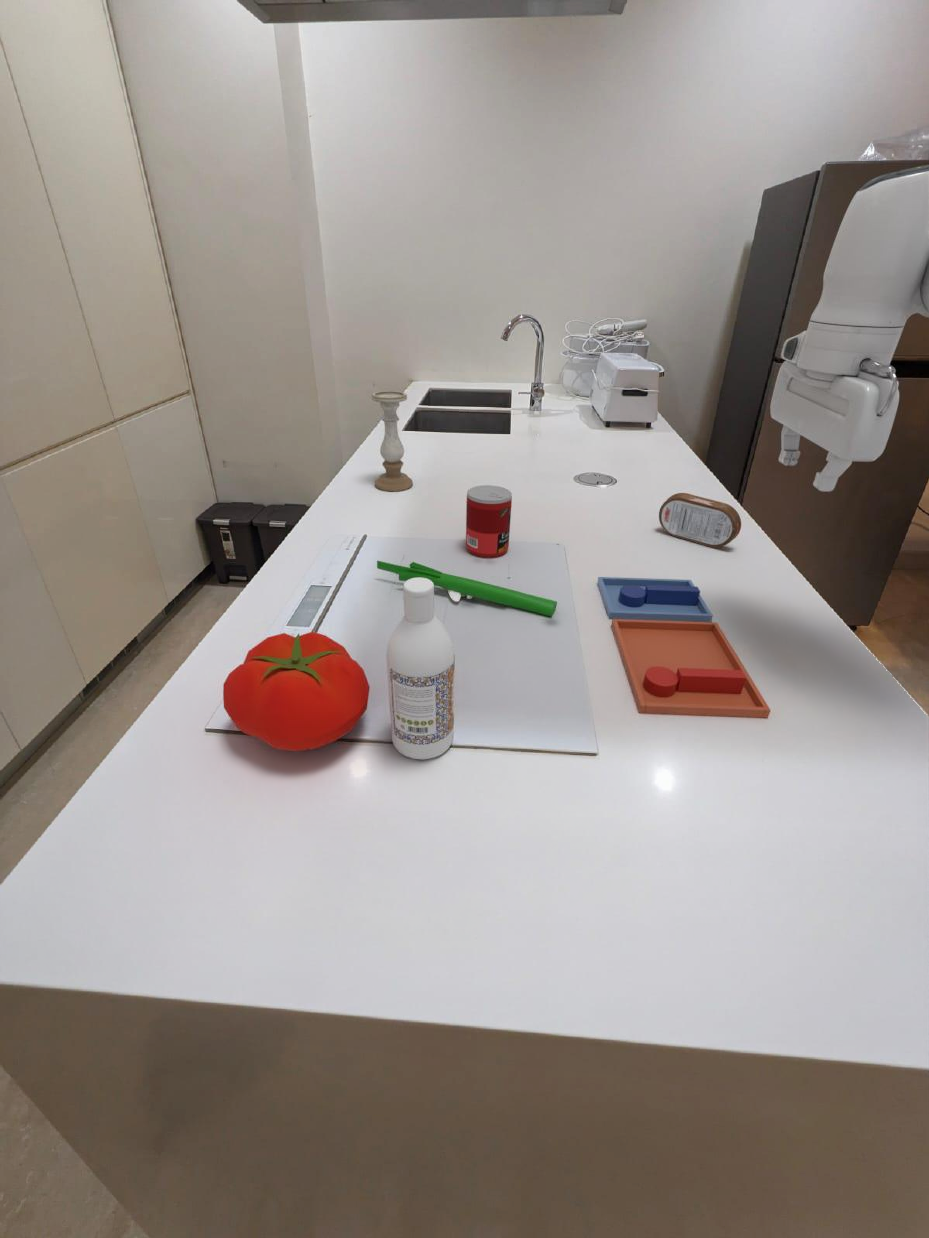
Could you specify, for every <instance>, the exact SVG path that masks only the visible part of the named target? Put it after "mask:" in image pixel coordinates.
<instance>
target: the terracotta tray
mask: <svg viewBox="0 0 929 1238" xmlns="http://www.w3.org/2000/svg"><path fill="white" fill-rule="evenodd" d="M718 623H719V622H716V621H715V622H712V621H711V622H688V621H659V620H630V619H611V625H610V627H611V630H612V633H613V636H614V641H615V642H616V646H617V649H618V653H619V655H620V659H621V661H622V664H623V667H624V669H625V670H624V671H625V674H626V677H627V680H628V683H629V687H630V689H631V692H632V695H633V699H634V702H635V705H636V708H637V711H638V713H639V714H644V715H671V716H672V715H673V716H696V717H718V718H719V717H722V718H747V719H750V718H751V719H768V718H769V716H770V714H771V709H770V707H769V705H768V704H767V702H766V700H765V698H764V697H763V696H762V693H761V692H760V690H759V689H758V686H757V685H756V684H755V682H754V681H753V679H752V677H751V676H750V674H749V672H748V671H747V669H746V667H745V665H743V663H742V661H741V660H740V658H739V656H738V655H737V652H735V650H734V648H733V646H732V644H731V643H730V641H729V639H728V638H727V636H726V635H725V633H724V632H723V630H722V628H721V627H720V625H719V624H718ZM656 666H658V667H665V668H668V669H670V670H672V671H673V672H675V673H677V669H678V668H697V669H724V670H742V671H743V673H744V674H745V676H746V681H745V684H744V686H743V689H742V692H741V694H730V693H703V692H677V691H675V693H674V694H673V695H672V696H669V697H658V696H655V695H652V694H650V693H649V692H647V691H646V690H645V688H644V687H643V681H644V677H645V673H646V670H647V669H649V668H651V667H656Z"/></svg>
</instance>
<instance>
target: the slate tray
mask: <svg viewBox="0 0 929 1238" xmlns="http://www.w3.org/2000/svg"><path fill="white" fill-rule="evenodd" d="M597 577H598V578H597V582H596V583H597V588H598V590H599V593H600V596H601V599H602V602H603V603H602V604H603V607H604V608H605V612H606V615H607V618H608V620H612V619H630V620H659V621H688V622H712V619H713V614H712V612H711V610H710V609H709V607H708V605H707V604H706V603H705V600H704V599H703V597H702V596H701V594H700V595H699V598H698V602H697V605H696V606H690V605H663V604H645V602H644V605H643V606H641V607H628V606H625V605H623V604H621V603H620V602H619V593H620V589H621V587H623V586H626V585H634V586H638V587H641V588H643V589H644V590H645V588H646V585H665V586H693V587H696V586H695V584H694V583H693V580H691V579H679V578H678V579H677V578H676V579H675V578H644V577H642V578H641V577H618V576H617V577H616V576H615V577H614V576H597Z"/></svg>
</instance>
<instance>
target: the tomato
mask: <svg viewBox="0 0 929 1238" xmlns="http://www.w3.org/2000/svg"><path fill="white" fill-rule="evenodd" d="M222 687H223V689H222V694H223V695H222V696H223V697H222V699H223V709H224V710H225V712H226V714H227V715H228V717H229V718H230V720H231V721H232V722H233V724H234V725H235V726H236V728H237V729H238V730H240V731H241V732H242V733H243V734H245V735H247V736H250V737H253V738H256V739H260V740H262V741H263V742H265V743H267V744H268V745H270V746H271V747H272V748H274V749H275V750H283V751H284V750H285V751H290V752H291V751H293V752H301V751H307V750H313V749H318V748H321V747H323V746H326V745H329V744H331V743H333V742H335V741H337V740H339V739H341V738H342V737H343V736H345V735H346V734H348V733H349V732H350V731H352V730H353V729H354V727H356V725H357V724H358V722H359V721H360V719H361V718H362V717H363V715H364V714H365V712H366V711H367V709H368V703H369V696H370V684H369V681H368V678H367V675H366V673H365V671H364V668H363V667H362V666H361V665H360V664H359V663H358V661H357V660H354V659H353V658H352V656H351V655H350V654H349V652H348V651H347V649H346V648H345V646H343V645H342V644H340V643H339V642H337V641H335V640H334V639H332V638H330V637H329V636H328V635H326V634H322V633H319V632H316V631H310V632H306V633H304V634H300V633H298V634H297V635H296V636H293V635H291V634H288V633H285V632H282V633H278V634H275V635H271V636H269V637H268V636H267V637H265V639H263V640H262V641H261V642H259V643H258V644H256V645H255V646H254V647H251V649H249V650H248V652H247V654H246V656H245V659H244V661H243V663H241V664H239V665H238V666H237V667H236V668H234V669H233V670H232V671H230V673H228V675H227V677H226V679H225V680H224V682H223V686H222Z"/></svg>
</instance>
